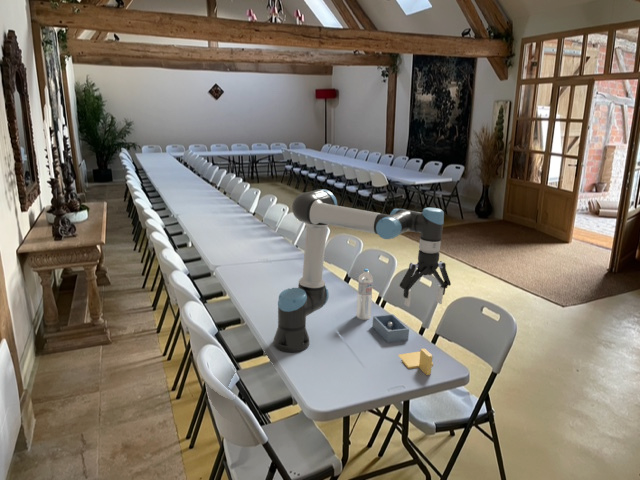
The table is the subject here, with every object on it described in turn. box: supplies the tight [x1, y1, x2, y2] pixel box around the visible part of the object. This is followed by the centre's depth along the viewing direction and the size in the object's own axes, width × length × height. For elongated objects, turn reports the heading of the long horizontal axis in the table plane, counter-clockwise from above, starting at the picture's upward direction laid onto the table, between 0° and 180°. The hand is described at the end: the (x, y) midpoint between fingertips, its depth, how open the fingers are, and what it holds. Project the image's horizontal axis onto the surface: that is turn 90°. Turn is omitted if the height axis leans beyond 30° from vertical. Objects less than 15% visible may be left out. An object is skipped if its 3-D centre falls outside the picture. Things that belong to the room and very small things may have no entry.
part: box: [387, 321, 394, 330], centre depth 216 cm, size 3×3×3 cm
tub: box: [372, 313, 410, 344], centre depth 212 cm, size 10×16×6 cm, turn 17°
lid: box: [397, 348, 434, 376], centre depth 190 cm, size 11×23×8 cm, turn 17°
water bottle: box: [356, 268, 374, 321], centre depth 225 cm, size 7×7×25 cm
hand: (423, 304), depth 178 cm, fingers open, 13 cm apart
